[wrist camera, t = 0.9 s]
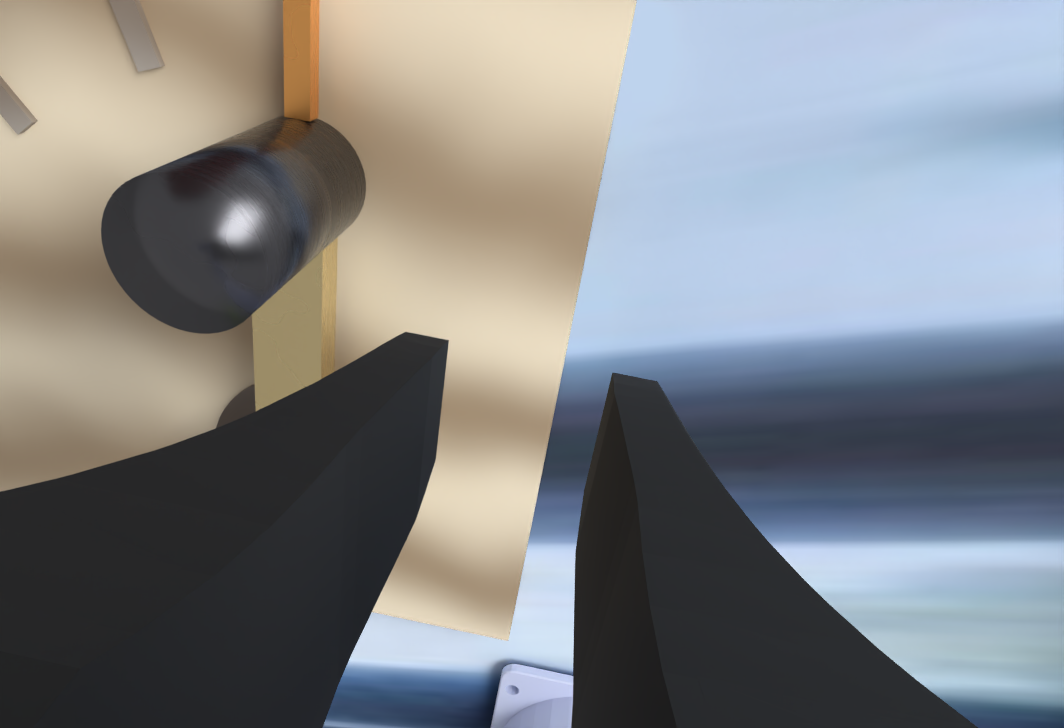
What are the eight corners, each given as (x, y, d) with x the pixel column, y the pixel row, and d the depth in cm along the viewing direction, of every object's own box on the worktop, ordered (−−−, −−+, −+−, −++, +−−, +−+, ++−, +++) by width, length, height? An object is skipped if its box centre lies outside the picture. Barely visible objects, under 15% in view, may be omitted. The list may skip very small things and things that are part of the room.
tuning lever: (372, 540, 23) (303, 690, 18) (238, 512, 23) (134, 653, 19) (408, -44, 15) (303, -48, 10) (204, -80, 15) (7, -100, 11)
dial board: (512, 618, 26) (507, 645, 25) (-49, 499, 27) (-76, 521, 26) (636, -1, 16) (636, 2, 15) (-249, -159, 17) (-306, -167, 16)
